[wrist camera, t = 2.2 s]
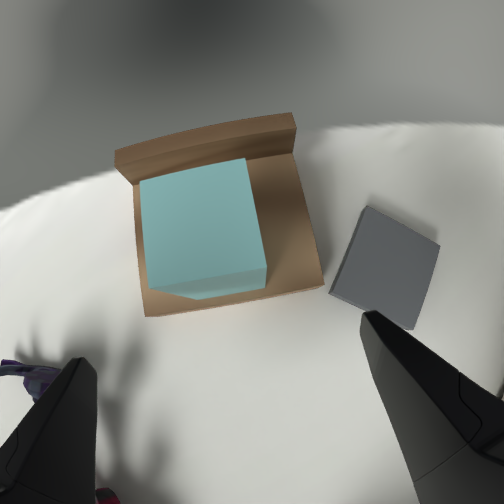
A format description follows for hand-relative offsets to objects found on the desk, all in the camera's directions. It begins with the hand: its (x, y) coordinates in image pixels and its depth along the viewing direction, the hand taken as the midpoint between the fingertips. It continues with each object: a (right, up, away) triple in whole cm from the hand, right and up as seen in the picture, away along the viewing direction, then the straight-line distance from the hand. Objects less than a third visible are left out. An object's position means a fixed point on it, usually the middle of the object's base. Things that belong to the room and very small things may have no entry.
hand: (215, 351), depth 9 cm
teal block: (0, +2, +9) cm, 10 cm away
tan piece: (-1, +4, +12) cm, 13 cm away
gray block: (+11, +2, +11) cm, 16 cm away
